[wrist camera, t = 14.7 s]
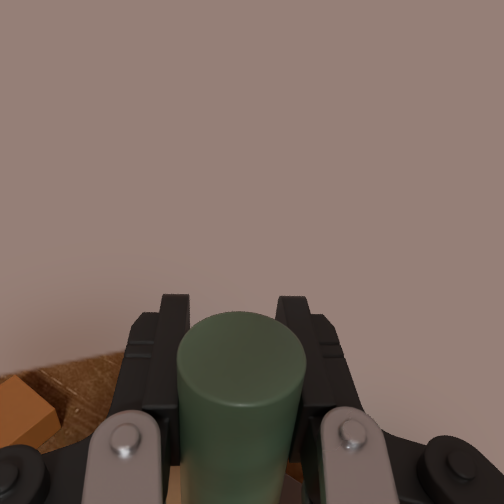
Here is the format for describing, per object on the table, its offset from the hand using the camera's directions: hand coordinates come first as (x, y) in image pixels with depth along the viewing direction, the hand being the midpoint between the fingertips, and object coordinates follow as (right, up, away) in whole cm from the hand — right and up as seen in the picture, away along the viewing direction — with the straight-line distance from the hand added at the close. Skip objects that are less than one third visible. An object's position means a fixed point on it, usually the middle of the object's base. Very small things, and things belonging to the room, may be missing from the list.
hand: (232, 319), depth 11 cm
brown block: (-14, -9, +12) cm, 20 cm away
